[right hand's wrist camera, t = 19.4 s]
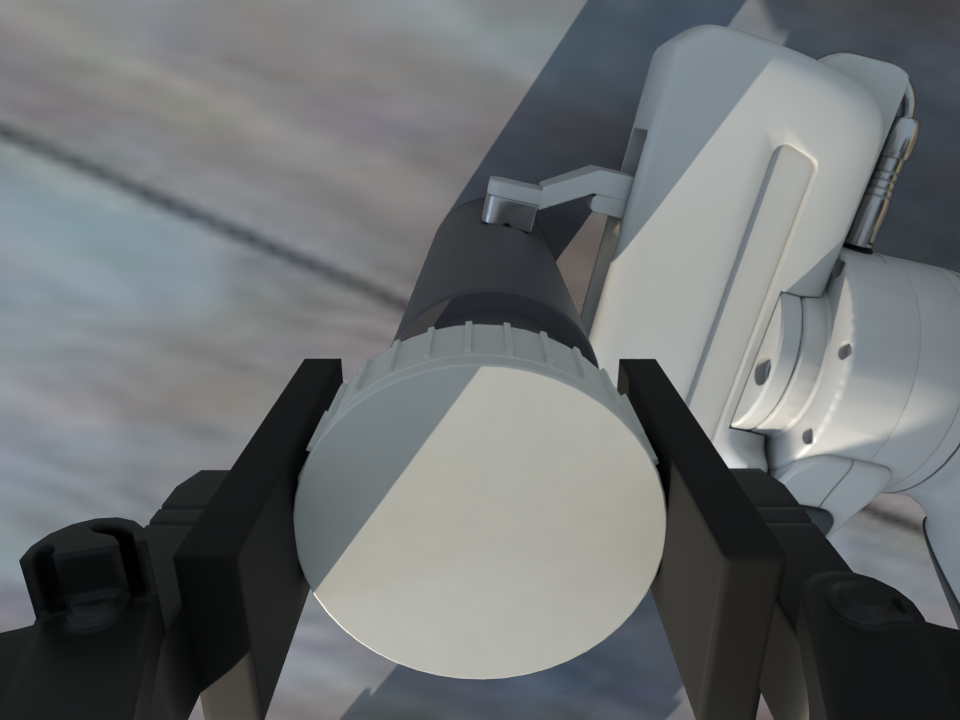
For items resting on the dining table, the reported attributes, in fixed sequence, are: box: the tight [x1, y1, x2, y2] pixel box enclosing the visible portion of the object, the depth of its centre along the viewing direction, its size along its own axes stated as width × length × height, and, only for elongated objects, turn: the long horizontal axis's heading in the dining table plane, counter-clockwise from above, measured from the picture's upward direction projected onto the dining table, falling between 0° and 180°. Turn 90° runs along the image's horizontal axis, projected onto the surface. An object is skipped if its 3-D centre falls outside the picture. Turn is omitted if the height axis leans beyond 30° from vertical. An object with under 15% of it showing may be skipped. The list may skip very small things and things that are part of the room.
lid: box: [293, 321, 667, 679], centre depth 11 cm, size 6×6×2 cm
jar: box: [391, 198, 599, 369], centre depth 23 cm, size 5×5×17 cm
